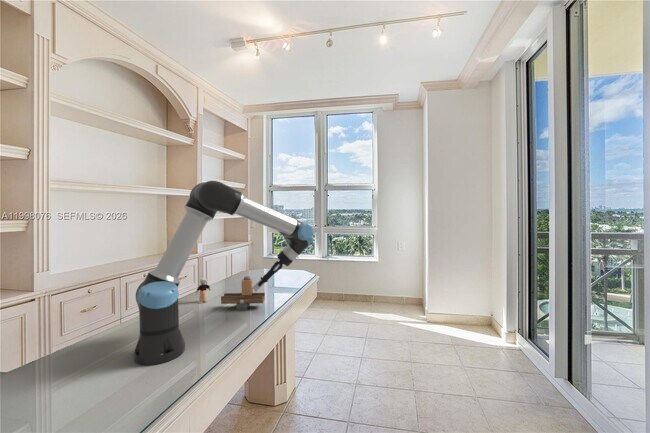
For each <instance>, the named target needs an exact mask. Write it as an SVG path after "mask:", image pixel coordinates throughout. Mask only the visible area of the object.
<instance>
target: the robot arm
mask: <svg viewBox="0 0 650 433" xmlns="http://www.w3.org/2000/svg"><path fill="white" fill-rule="evenodd" d="M184 208H185V215H184V216H183V217H182V220H181V222H180V223H179V225H178V227H177V229H176V230H175V232H174V234H173V236H172V238H171V240H170V242H169V244H168V245H167V247H166V249H165V251H164V252H163V254H162V256H161V258H160V260H159V262H158V264H157V265H156V268H154V269H152V270H149V272H148V273H147V275H146V277H145V279H144V280H143V281H142V282H141V283H140V284H139V285H138V287H137V289H136V291H135V302H136V303H137V307H138V313H139V314H138V316H139V318H138V319H139V321H138V322H139V336H138V340H137V343H136V346H135V349H134V351H133V360H134V362H135V363H136V364H138V365H142V366H143V365H144V366H145V365H146V366H153V365H159V364H163V363H164V364H165V363H167V362H169V361H172V360H174V359H177V358H179V357H180V356H181V355H182V354H184V352H185V350H186V343H185V340H184V337H183V334H182V333H181V329H180V320H179V319H180V318H179V317H180V316H179V314H180V313H179V295H180V294H179V293H180V292H179V289H178V288H179V286H180V283H181V281H180V278H179V276H180V275H181V272H182V271H183V268H184V267H185V265H186V263H187V261H188V260H189V258H190V255H191V254H192V252H193V250H194V248H195V246H196V245H197V242H198V241H199V238H200V236H201V235H202V233H203V231H204V229H205V227H206V225H207V223H208V222H211V221H212V220H214V219H215V216H216V215H217V212H219V213H224V214H228V215H230V216H234V215H237V216H239V217H243V218H244V219H248V220H249V221H252V222H255V223H258V224H260V225H262V226H265V227H267V228H269V229H273V230H274V231H277V232H278V233H279V234H281V236H283V237H284V238H285V239H286V240H287V241H289V243H288V244H287V245H286V246H285V247H284V248H283V250H281V251H280V252H279V253H278V254H277V255H276V256H277V261H275V262H274V264H273V265H272V266H271V268H270V269H269V270H268V271H267V272H266V273H265V274H264V275H263V276H261V277H260V279H259V280H258V281H257V282H256V283H255V284H253V288H252V289H253V291H255V292H257V291H259V289H260V288H261V287H262V286H264V284H265V283H268V282H269V280H270V279H271V278H272V276H274V275H275V274H276V273H278V271H280V270H281V269H282V268H283V267H284V266H286V267H289V266H290V265H291V264H292V263H293V261H295V260H296V259H298V258H299V256H300V255H301V254H302V253H303V252H304V251H305V250H306V249H307V248H308V247H309V246H310V245H311V244H312V242H314V239H315V238H314V233H315V232H314V231H315V229H314V226H313V225H312V224H310V223H308V222H302V221H300V220H298V219H296V218H293V217H291V216H289V215H287V214H285V213H282V212H281V211H278V210H276V209H273V208H271V207H269V206H267V205H265V204H262V203H261V202H260V203H259V202H257V201H255V200H253V199H251V198H249V197H246V196H244V194H243V192H242V191H239V190H237V189H235V188H233V187H231V186H229V185H227V184H225V183H223V182H221V181H217V180H208V181H203V182H200V183H198V184H196V185H194V187H193V188H192V189H191V191H190V193H189V198H188V200H187V202H186V204H185V206H184ZM283 265H284V266H283Z"/></svg>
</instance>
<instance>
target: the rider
mask: <svg viewBox="0 0 650 433" xmlns="http://www.w3.org/2000/svg"><path fill="white" fill-rule="evenodd" d="M253 281H254V279H253V278H252V277H251V276H247V275H246V276H244V277H243V278H242V280H241V293H242V295H245V296H251V294H252V293H254V289H252V288H253V286H254V282H253Z"/></svg>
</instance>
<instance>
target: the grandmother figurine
mask: <svg viewBox="0 0 650 433" xmlns="http://www.w3.org/2000/svg"><path fill="white" fill-rule="evenodd" d="M199 282H200V285H199V286H198V287H197V288H196V291H195V294H198V293H199V296H198V298H199V299H198V304H203V303H208V300H207V299H208V291H211V290H212V289H211V286H210V285H208V284H207V279H206V278H204V277H202V278H200V280H199ZM207 289H208V290H207Z"/></svg>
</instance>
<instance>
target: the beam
mask: <svg viewBox="0 0 650 433" xmlns="http://www.w3.org/2000/svg"><path fill="white" fill-rule="evenodd" d="M265 295H266V292H253V293H252V294H251V296H245V295H242V292H225V293H223V295H221V296H220V304H221V305H231V304H232V305H233V304H236V311H248V310H249V308H250V306H251V304H263V303H264V302H265V300H266V296H265Z"/></svg>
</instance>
